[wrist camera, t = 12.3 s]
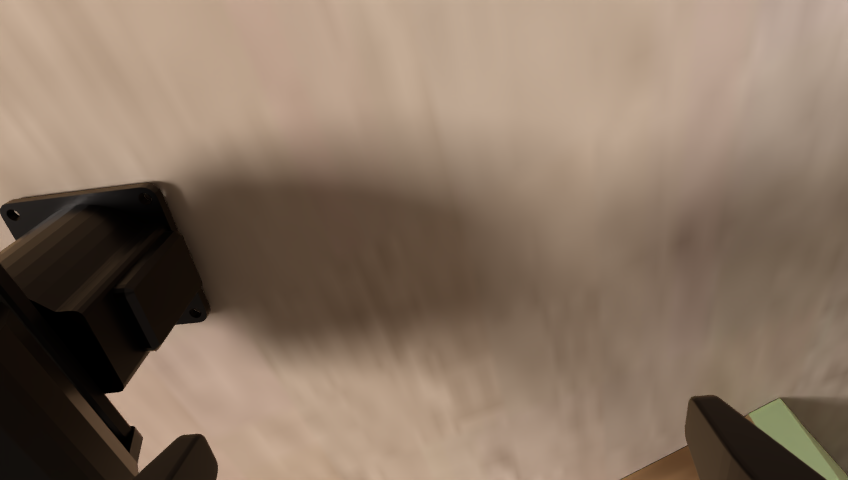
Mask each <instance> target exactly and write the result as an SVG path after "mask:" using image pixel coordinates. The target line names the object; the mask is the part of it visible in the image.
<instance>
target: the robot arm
mask: <svg viewBox="0 0 848 480" xmlns="http://www.w3.org/2000/svg"><path fill="white" fill-rule="evenodd" d="M144 193H146V194H148V195H150V197H151V198H152V201H151V200H148V199H146V198H145V196H144ZM14 210H15V211H17V212H18V213H19V215H20V216H19V215H17V214H16V213H15V212H14ZM0 214H1V216H2V218H3V220H4V221H5V223H6V225H7V227H8V228H9V230H10V232H11V233H12V235H13V237H14V238H15V240H16V241H15V242H13V243H12V244H10V245H9V246H8V247H6V248H5V249H4V250H2V251H1V252H0V480H216V478H217V473H218V465H217V461H216V458H215V456H214V454H213V452H212V450H211V448H210V446H209V444H208V442H207V440H206V438H205V437H204V436H203V435H201V434H190V435H182V436H180V437H178V438H177V439H176V440H175V441H173V442H172V443H171V444H170V445H169V446H168V447H167V448H166V449H165V450H164V451H163V452H161V453H160V454H159V455H158V456H157V457H156V458H155V459H154V460H153V461H152V462H151V463H149V464H148V465H147V466H146V467H145V468H144V469H143V470H142V471H141V472H140V473H138V465H137V463H138V459H139V454H140V449H141V445H142V440H143V437H142V435H141V434H140V433H139V432H138V430H137V429H136V428H135V427H134V426H130V425H129V424H128V423H127V422H126V420H125V419H124V418H123V417H122V415H121V414H120V413H119V412H118V410H117V409H116V408H115V407H114V405H113V404H112V403H111V402H110V400H109V399H108V398H107V397H106V395H105V394H106V393H115V392H121V391H123V389H124V388H125V387H126V385H127V384H128V382H129V381H130V379H131V378H132V377H133V375H134V374H135V372H136V371H137V369H138V368H139V367H140V365H141V364H142V362H143V361H144V359H145V358H146V356H147V355H148V354H149V352H150V351H157V350H158V349H159V348H160V346H161V345H162V343H163V342H164V340H165V339H166V337H167V336H168V335H169V333H170V332H171V330H172V329H173V327H174V326H175V325H178V324H188V323H198V322H202V321H204V320H205V319H206V318H207V316H208V315H209V313H210V306H209V303H208V301H207V299H206V296H205V294H204V292H203V289H202V287H201V286H202V282H201V279H200V277H199V274H198V272H197V270H196V267H195V265H194V262H193V260H192V258H191V255H190V253H189V250H188V248H187V246H186V243H185V241H184V238H183V236H182V235H181V234H180V233H179V232H178V230H177V227H176V225H175V222H174V220H173V218H172V215H171V213H170V210H169V208H168V206H167V203H166V201H165V199H164V196H163V194H162V192H161V190H160V189H159V188H158V187H157V186H155V185H153V184H151V183H141V184H133V185H125V186H117V187H109V188H101V189H93V190H85V191H77V192H69V193H61V194H53V195H45V196H37V197H29V198H21V199H14V200H11V201H9V202H7V203H6V204H4V205H2V207H1V208H0ZM194 309H198V310H199V311H200V312H197V311H195V310H194ZM685 436H686V441H687V444H688V447H689V450H690V453H691V456H692V459H693V462H694V465H695V468H696V471H697V474H698V476H699V479H700V480H827V479H825V478H824V477H823V476H822V475H820V474H819V473H818V472H816V471H815V470H814V469H812V468H811V467H810V466H808V465H807V464H806V463H804V462H803V461H802V460H800V459H799V458H798V457H797V456H795V455H794V454H793V453H791V452H790V451H789V450H787V449H786V448H785V447H783V446H782V445H781V444H779V443H778V442H777V441H775V440H774V439H773V438H772V437H770V436H769V435H768V434H766V433H765V432H764V431H762V430H761V429H760V428H758V427H757V426H756V425H754V424H753V423H752V422H751V421H749V420H748V419H747V418H745V417H744V416H743V415H741V414H740V413H739V412H737V411H736V410H735V409H733V408H732V407H731V406H729V405H728V404H727V403H726V402H724V401H723V400H722V399H720V398H719V397H717V396H714V395H704V396H694V397H691V398H690V400H689V403H688V410H687V417H686V424H685Z"/></svg>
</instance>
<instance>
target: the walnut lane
mask: <svg viewBox="0 0 848 480" xmlns="http://www.w3.org/2000/svg"><path fill="white" fill-rule="evenodd" d="M745 418H747V419H748V420H749V421H751V422H752V423H753V424H754V422H753V421H752V419H751V417H750V416H749V415H747V416H745ZM754 425H755V424H754ZM621 480H700V479H699V476H698V474H697V471H696V468H695V465H694V462H693V459H692V456H691V453H690V450H689V447H688V446H686V447H684V448H682V449H680V450H678V451H676V452H674V453H672V454H670V455H668V456H666V457H665V458H663V459H661V460H659V461H657V462H655V463H653V464H651V465H649V466H647V467H645V468H643V469H641V470H639V471H637V472H635V473H633V474H631V475H629V476H627V477H625V478H623V479H621Z"/></svg>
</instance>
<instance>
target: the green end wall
mask: <svg viewBox="0 0 848 480" xmlns="http://www.w3.org/2000/svg"><path fill="white" fill-rule="evenodd" d="M749 416H750V417H751V419H752V421H753V422H754V424H755V425H756V426H757V427H758V428H760V429H761V430H762V431H764V432H765V433H766V434H768V435H769V436H770V437H772V438H773V439H774V440H775V441H777V442H778V443H779V444H781V445H782V446H783V447H785V448H786V449H787V450H789V451H790V452H791V453H793V454H794V455H795V456H797V457H798V458H799V459H800V460H802V461H803V462H804V463H806V464H807V465H808V466H810V467H811V468H812V469H814V470H815V471H816V472H818V473H819V474H820V475H822V476H823V477H824V478H825V479H827V480H848V476H847V475H846V473H845V472H844V471H843V470H842V469H841V468H840V467H839V466H838V464H837V463H836V462H835V461H834V460H833V459H832V458H831V457H830V455H829V454H828V453H827V452H826V451H825V450H824V449H823V448H822V446H821V445H820V444H819V443H818V442H817V441H816V440H815V439H814V437H813V436H812V435H811V434H810V433H809V432H808V431H807V430H806V428H805V427H804V426H803V425H802V424H801V422H800V421H799V420H798V418H797V417H796V416H795V415H794V413H793V412H792V411H791V410H790V409H789V408H788V407H787V406H786V404H785V403H784V402H783V401H782V400H781V399H780V398H779V399H777V400H775V401H773V402H771V403H769V404H767V405H765V406H763V407H761V408H759V409H757V410H755V411H753V412H751V413H749Z"/></svg>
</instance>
